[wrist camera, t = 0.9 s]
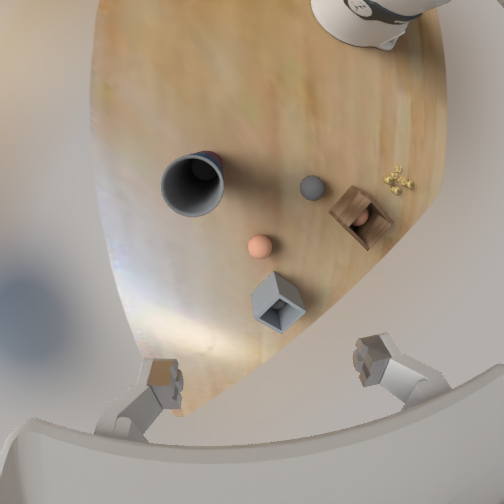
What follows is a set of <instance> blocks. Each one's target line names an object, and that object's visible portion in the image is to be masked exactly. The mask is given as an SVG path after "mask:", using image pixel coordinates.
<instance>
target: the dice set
mask: <svg viewBox="0 0 504 504" xmlns="http://www.w3.org/2000/svg"><path fill="white" fill-rule="evenodd" d="M395 171H397V172H401V167H400V166H395ZM396 178H397V173H391V176H389V175H384V176H383V181H384V182H385V183H387V184H392V183H393V179H396ZM397 181H398V183H399V184H401V185H405V186H406V187H408V188H410V189H411V188H413V187H414V183H413V182H412V181H411V180H408V179H406V180H405V178H402V177H399V178H398V179H397ZM391 192H393V193H394V194H396V195H399V194H400V193H401V189H400V188H399V187H397V186H395V185H393V186H392V187H391Z"/></svg>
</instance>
